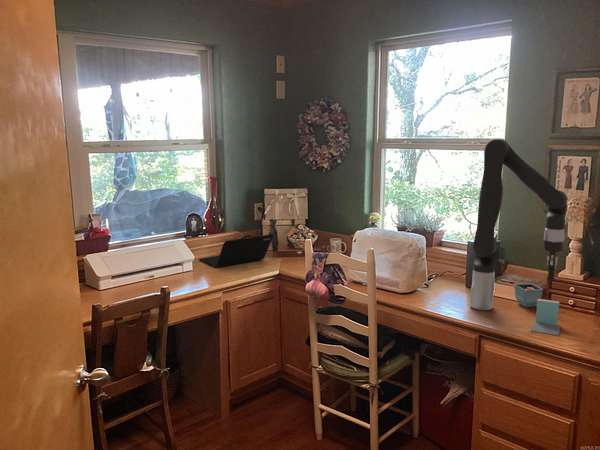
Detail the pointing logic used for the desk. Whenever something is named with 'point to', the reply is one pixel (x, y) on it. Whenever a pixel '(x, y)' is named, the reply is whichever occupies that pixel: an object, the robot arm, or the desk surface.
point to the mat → (545, 329)
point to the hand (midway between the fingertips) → (550, 279)
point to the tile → (547, 312)
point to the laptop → (240, 251)
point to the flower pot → (527, 295)
